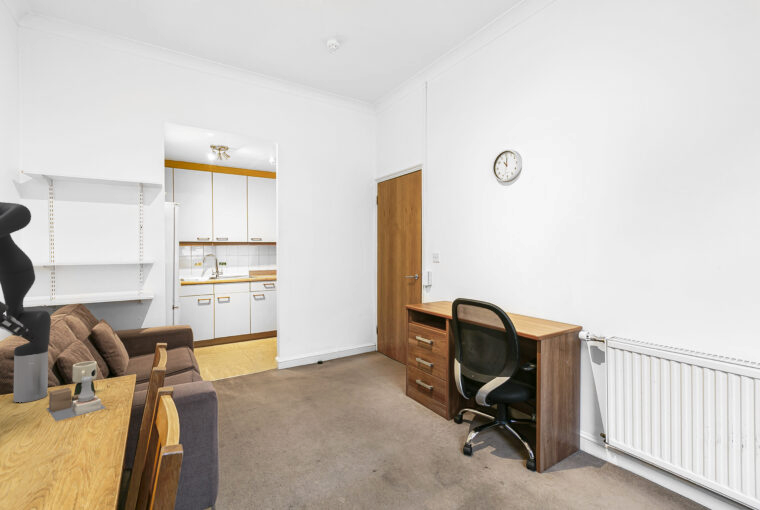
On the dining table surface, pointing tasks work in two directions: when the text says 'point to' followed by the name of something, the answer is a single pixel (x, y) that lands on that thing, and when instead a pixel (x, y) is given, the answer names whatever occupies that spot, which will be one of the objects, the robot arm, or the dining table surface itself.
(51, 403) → the walnut castle blocks
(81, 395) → the rook chess piece
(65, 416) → the baseplate
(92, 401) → the white square block
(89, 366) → the character mug
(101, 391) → the dining table surface
